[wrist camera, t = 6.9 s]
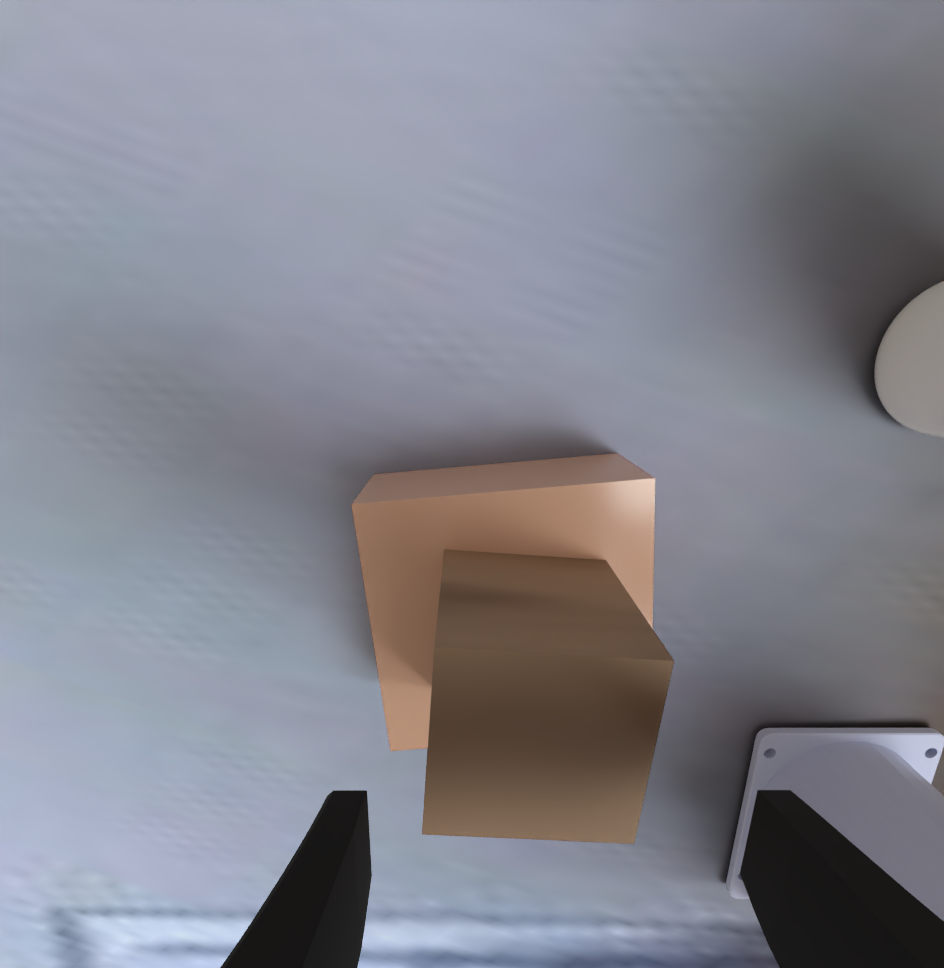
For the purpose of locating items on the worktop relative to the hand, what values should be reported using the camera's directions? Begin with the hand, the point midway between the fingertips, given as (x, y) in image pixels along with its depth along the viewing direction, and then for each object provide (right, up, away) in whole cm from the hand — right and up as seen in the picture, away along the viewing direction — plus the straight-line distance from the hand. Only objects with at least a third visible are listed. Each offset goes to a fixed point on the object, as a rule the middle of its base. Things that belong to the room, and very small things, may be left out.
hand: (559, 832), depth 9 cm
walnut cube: (0, +2, +7) cm, 7 cm away
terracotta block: (0, +3, +10) cm, 11 cm away
